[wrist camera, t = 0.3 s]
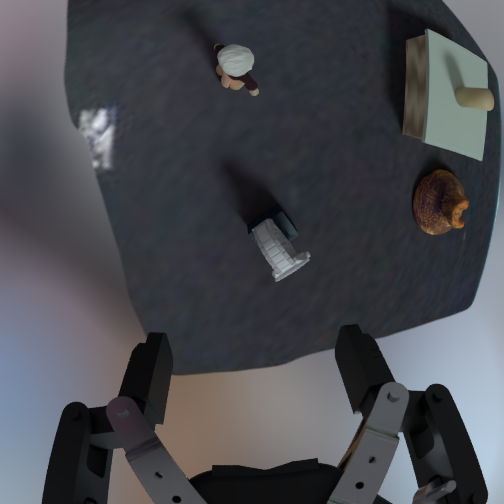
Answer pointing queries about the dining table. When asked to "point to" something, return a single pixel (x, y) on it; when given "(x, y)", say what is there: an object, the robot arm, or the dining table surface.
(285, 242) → the watch
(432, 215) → the brown rounded piece
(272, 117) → the dining table surface
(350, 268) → the dining table surface
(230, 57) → the grandmother figurine
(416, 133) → the box
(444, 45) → the lid
